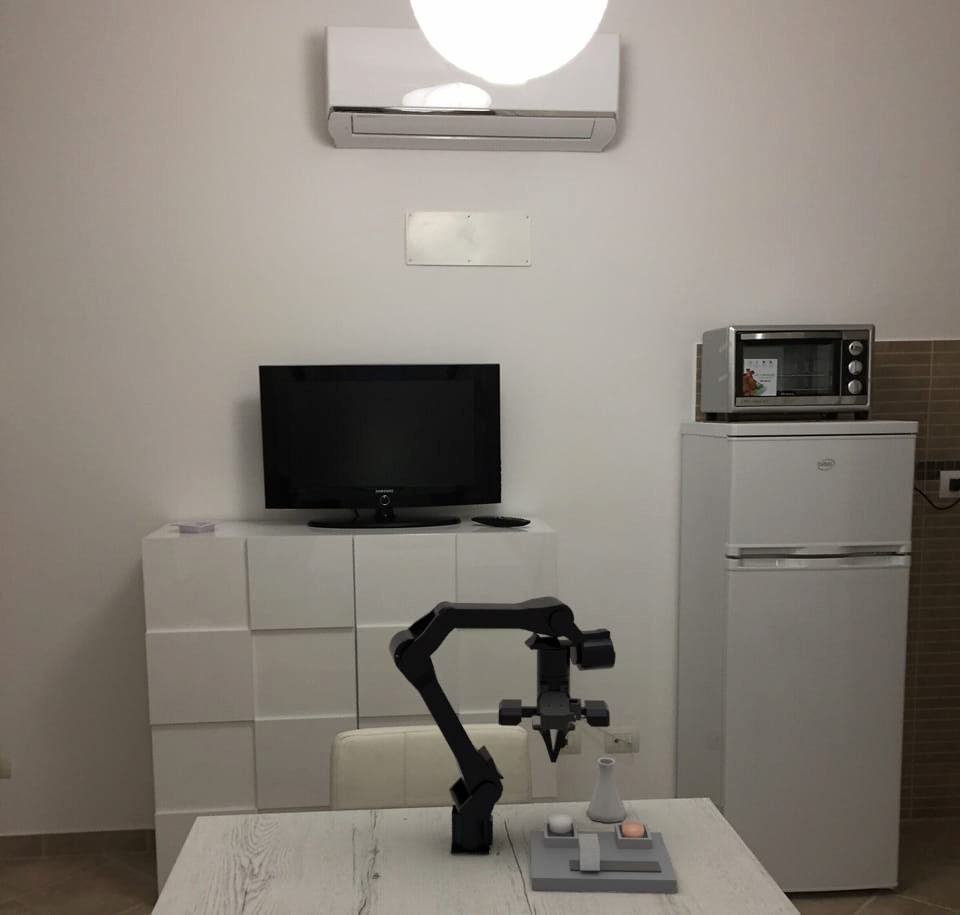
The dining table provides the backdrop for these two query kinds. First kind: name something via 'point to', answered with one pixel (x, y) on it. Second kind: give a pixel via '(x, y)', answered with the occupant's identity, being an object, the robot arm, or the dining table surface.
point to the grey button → (560, 822)
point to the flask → (606, 795)
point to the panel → (601, 862)
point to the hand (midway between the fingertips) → (553, 761)
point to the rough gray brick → (588, 852)
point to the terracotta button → (632, 830)
